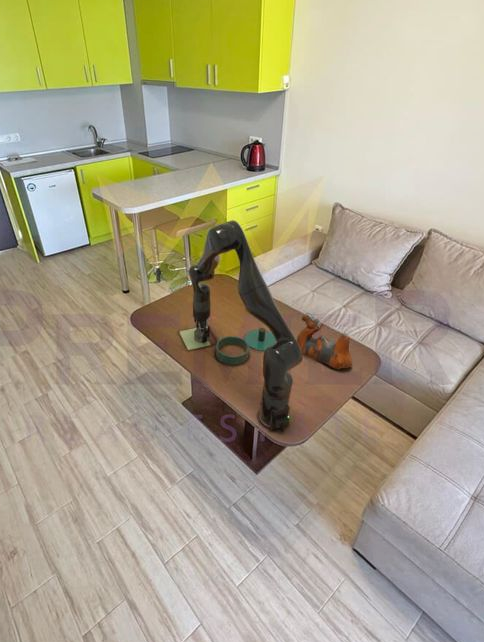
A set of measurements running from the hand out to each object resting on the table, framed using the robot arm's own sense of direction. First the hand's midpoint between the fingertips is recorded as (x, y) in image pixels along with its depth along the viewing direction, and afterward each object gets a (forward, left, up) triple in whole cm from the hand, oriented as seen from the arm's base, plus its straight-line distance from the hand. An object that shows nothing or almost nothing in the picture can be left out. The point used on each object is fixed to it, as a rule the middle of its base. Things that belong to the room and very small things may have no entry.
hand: (201, 337), depth 166 cm
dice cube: (0, 0, -1) cm, 1 cm away
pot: (-14, -9, -2) cm, 17 cm away
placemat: (+2, +1, -2) cm, 3 cm away
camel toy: (-28, -45, -2) cm, 53 cm away
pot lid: (-10, -25, -1) cm, 27 cm away
